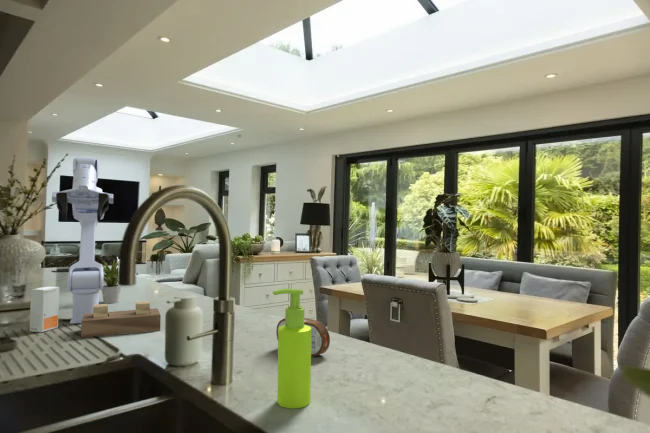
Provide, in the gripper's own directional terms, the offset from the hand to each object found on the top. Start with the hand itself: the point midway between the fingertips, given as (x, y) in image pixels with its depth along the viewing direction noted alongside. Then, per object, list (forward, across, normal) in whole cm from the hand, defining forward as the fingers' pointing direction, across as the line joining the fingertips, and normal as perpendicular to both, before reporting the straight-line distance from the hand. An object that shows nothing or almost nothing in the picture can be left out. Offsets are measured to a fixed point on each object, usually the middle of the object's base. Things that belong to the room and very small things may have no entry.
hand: (81, 217), depth 114 cm
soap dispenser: (+64, +36, -12) cm, 74 cm away
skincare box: (+6, -10, +38) cm, 39 cm away
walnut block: (+13, +10, +31) cm, 35 cm away
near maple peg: (+11, +5, +29) cm, 31 cm away
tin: (+44, +49, +5) cm, 66 cm away
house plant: (-24, +7, +64) cm, 68 cm away
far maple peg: (+11, +15, +29) cm, 34 cm away
